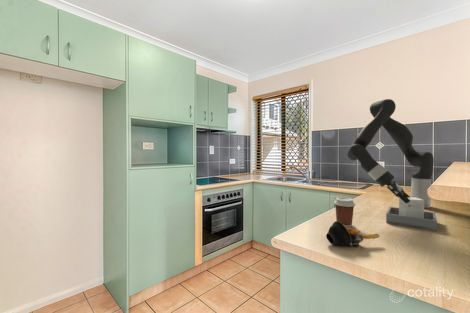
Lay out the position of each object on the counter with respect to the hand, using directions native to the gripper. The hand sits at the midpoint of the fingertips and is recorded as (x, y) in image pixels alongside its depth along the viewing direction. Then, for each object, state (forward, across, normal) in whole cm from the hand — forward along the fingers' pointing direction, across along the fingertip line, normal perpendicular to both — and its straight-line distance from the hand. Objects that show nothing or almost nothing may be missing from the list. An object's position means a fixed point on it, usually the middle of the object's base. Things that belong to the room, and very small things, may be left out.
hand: (408, 200), depth 108 cm
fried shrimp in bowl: (-3, -45, +18) cm, 49 cm away
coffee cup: (-9, -23, +24) cm, 34 cm away
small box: (+7, 0, +6) cm, 10 cm away
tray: (+8, 0, +7) cm, 10 cm away
